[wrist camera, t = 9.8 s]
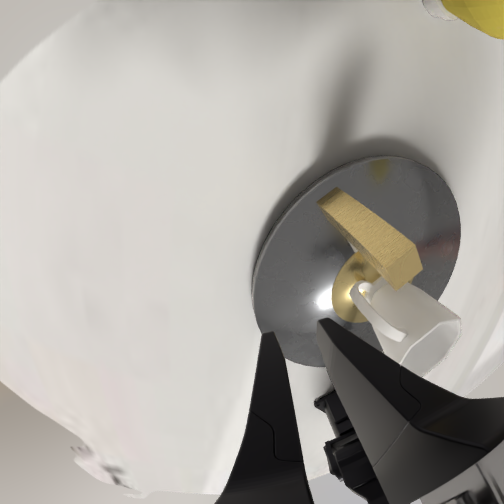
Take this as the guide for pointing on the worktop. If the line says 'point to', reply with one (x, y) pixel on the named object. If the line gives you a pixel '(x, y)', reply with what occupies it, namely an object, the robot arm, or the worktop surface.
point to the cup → (408, 323)
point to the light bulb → (471, 13)
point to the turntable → (353, 249)
